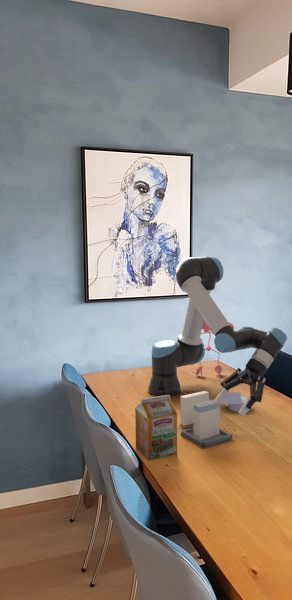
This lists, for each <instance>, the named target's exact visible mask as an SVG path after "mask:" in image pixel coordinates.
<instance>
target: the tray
mask: <svg viewBox="0 0 292 600" xmlns="http://www.w3.org/2000/svg"><path fill="white" fill-rule="evenodd" d="M180 436H182V437H184V438H185V439H187V440H188V441H190V442H192V443H193V444H195V445H197V446H198V447H200V448H202V449H203V450H204V449H207V448H210V447H214V446H217V445H220V444H223V443H226V442H227V443H228V442H229V441H233V434H231V433H229V432H228V431H225V430H224V429H222V428H220V427H219V434H218V435H215V436H212V437H208V438H205V439H202V440H200V439H198V438H197V437H195V436H194V426H193V427H189V428H186V429H181V433H180Z"/></svg>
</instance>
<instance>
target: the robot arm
mask: <svg viewBox="0 0 292 600" xmlns="http://www.w3.org/2000/svg"><path fill="white" fill-rule="evenodd" d="M223 277H224V267H223V265H222V262H221V261H220V259H218V258H217V257H214V256H207V255H206V256H201V257H199V256H198V257H190V256H189V257H186V258H184V259H182V260H181V261H180V262H179V263H178V265H177V266H176V270H175V279H176V282H177V285H178V286H179V288H180V290H181V291H182V292H183V293H186V295H187V296H188V298H189V299H188V305H187V310H186V314H185V318H184V324H183V329H182V332H181V333H180V334H178V337H177V341H176V340H171V339H165V340H160V341H156V342H155V343H154V344H152V347H151V377H150V379H149V380H150V381H149V384H148V393H149V394H150V395H153V396H156V397H158V396H164V395H170V397H171V396H176V395H179V394H180V393H181V389H182V388H181V384H180V383H181V382H180V380H179V378H178V369H177V368H181V367H186V366H193V365H196V364H198V363H201V361H203V359H204V357H205V354H206V350H205V349H206V348H205V345H204V342H203V340H202V338H201V335H202V334H201V333H202V331H203V329H202V326H203V322H204V320H205V322H206V323H207V325H208V326H209V328H210V329H211V331H212V333H213V334H212V335H214V340H213V341H214V342H213V343H214V347H215V349H216V351H217V352H218V353H222V354H223V353H224V354H226V353H232V352H237V351H240V350H241V351H242V350H247V349H252V348H253V349H255V351H254V352H253V353H252V355H251V358H250V359H248V361H247V363H246V364H245V368H244V370H243V369H241V368H240V367H237V369H236V370H235V371H234V372H232V373H231V374H230V375H229V376H228V377H226V378H225V379H223V380H222V381H221V382H220V383H219V385H220V386H221V388H220V390H219V391H218V393H217V394H218V395H217V396H216V397H215V399H214V400H215V401H218V402H220V405H222V404H221V402H222V401H223V399H224V398H225V396H226V395H227V393H228V392H229V390H231V389H232V388H235V387H236V386H239V385H241V384H242V385H243V384H245V385H248V386H249V394H250V396H249V397H247V398H248V399H247V400H246V402H245V403H244V405H243V406H242V408H241V409H240V411H239V412H238V411H237V413H238V414H239V415H241V417H243V418H245V416H246V414H247V413H248V412H249V411H250V410H251V409H252V407H253V406H254V405H255V403H259V404H260V403H261V402H262V399H263V394H264V389H265V388H264V387H265V385H266V382H267V379H266V378H265V377H264V375H265V374H266V372H267V370H268V369H269V368H270V366H271V364H272V363H273V362H274V360H275V358H277V355H278V354H279V353H280V351H281V350H282V348H283V347H284V345H285V344H286V343H287V340H288V337H287V334H286V332H284V331H283V330H282V329H280V328H278V327H271V328H270V329H269V330H268V331H264V330H261V329H257V328H254V327H251V326H242V327H241V328H239V330H234V329H235V328H234V329H233V328H232V327H231V325H230V324H229V323H230V322H229V320H228V319H227V318H226V316H225V314H223V312H222V310H221V309H220V307H219V306H218V305H217V303H216V302H215V300H214V299H213V298H212V296H211V295H210V294H211V292H212V291H214V290H215V288H216V283H219V282H221V281H222V279H223ZM211 331H210V332H211ZM249 409H250V410H249ZM248 410H249V411H248Z"/></svg>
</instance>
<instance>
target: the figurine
mask: <svg viewBox="0 0 292 600" xmlns="http://www.w3.org/2000/svg"><path fill="white" fill-rule="evenodd" d="M229 324H230V325H231V327H232V328H233V329H235V326H234V324H232V323H231V322H229ZM202 330H203V332H201V335H204V334H208V335H209V338H208V343H207V345H206V347H205V348H204V349H205V351H207V352H210V351H213V352H215V353H217V354H218V358H217V365H216V366H214V371H215V373H216V374H217V375H218V378H219V379H220V378H221V376H220V375H221V373H222V372H223V367H222V366H221V365H219V362H220V353H219V351H217V350H215V349H212V347H211V346H210V342H211V341H210V340H211V338H212V337H211V336H212V335H214V334H213V332H212V331H211V329H210V328H209V326H208V325H207V323H206V322H205V320H204V322H203V326H202ZM211 334H212V335H211ZM203 367H204V366H203V365H201V364H199V367H198V368H197V369H196V371H194V370H193V371H191V372H188V374H191V373H194V372H195V376H198V375H199V374H200V378H201V379H203V373H202V372H205V371H209V372H210V371H211V372H212V370H210V369H209V370H204V369H203Z"/></svg>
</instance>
